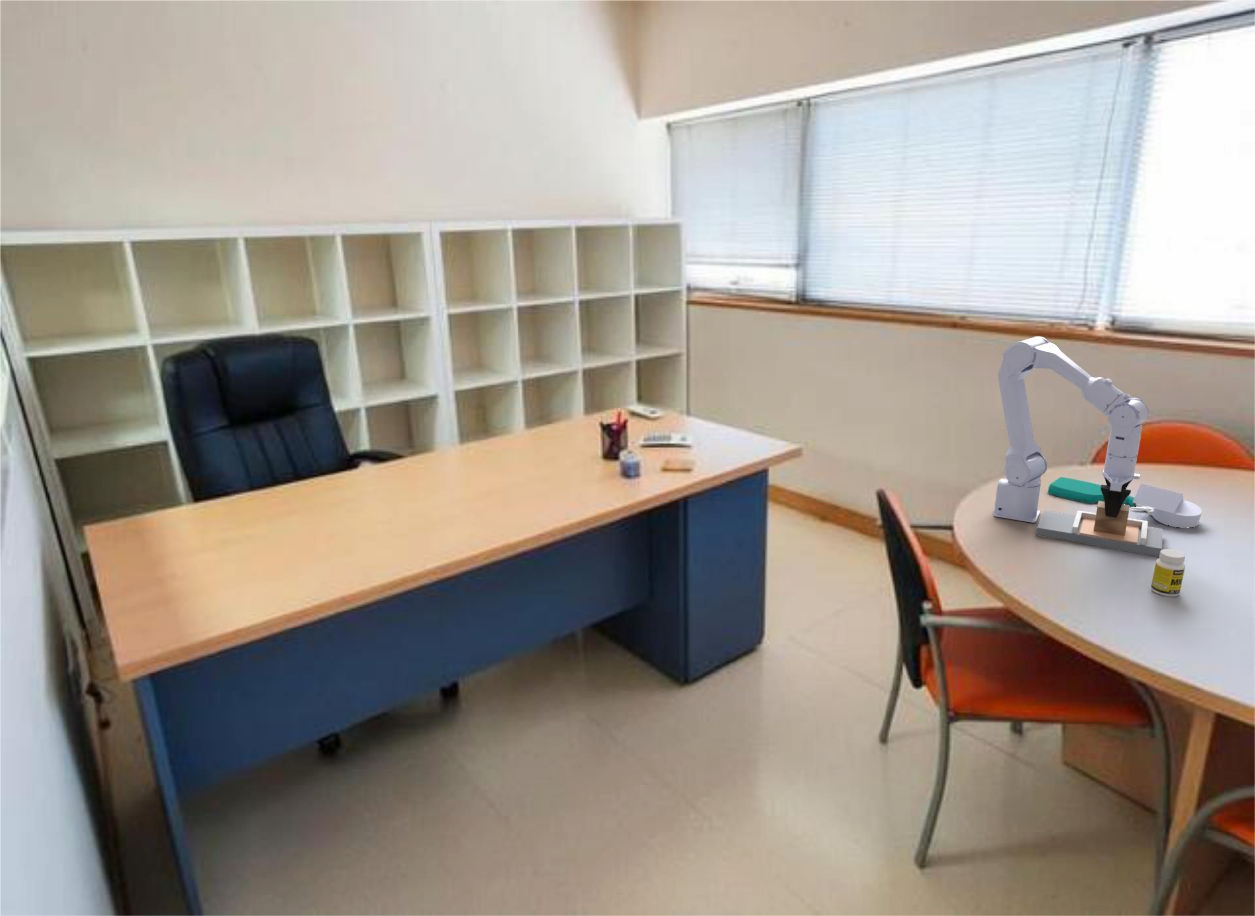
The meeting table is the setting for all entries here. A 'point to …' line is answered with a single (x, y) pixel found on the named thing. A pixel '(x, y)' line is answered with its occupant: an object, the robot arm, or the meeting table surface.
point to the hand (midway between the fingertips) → (1112, 510)
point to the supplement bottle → (1168, 573)
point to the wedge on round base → (1168, 506)
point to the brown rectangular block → (1111, 520)
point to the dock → (1082, 531)
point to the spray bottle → (1086, 492)
